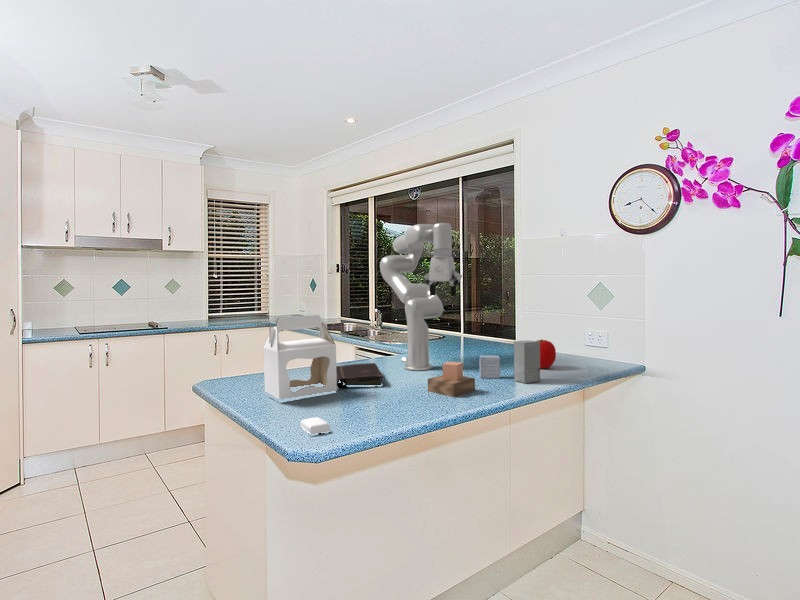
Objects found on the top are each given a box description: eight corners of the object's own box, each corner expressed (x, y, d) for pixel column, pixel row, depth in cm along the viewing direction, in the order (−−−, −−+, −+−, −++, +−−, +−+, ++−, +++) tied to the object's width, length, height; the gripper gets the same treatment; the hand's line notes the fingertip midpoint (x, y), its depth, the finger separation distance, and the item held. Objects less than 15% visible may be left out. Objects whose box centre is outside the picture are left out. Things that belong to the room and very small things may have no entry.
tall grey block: (525, 384, 183) (525, 342, 182) (512, 380, 189) (512, 340, 188) (541, 381, 187) (541, 341, 186) (528, 378, 193) (528, 338, 192)
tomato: (559, 370, 207) (559, 340, 206) (533, 370, 207) (533, 341, 206) (551, 365, 218) (551, 337, 218) (527, 365, 218) (527, 337, 218)
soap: (297, 429, 134) (297, 418, 134) (320, 424, 138) (320, 414, 138) (308, 438, 127) (308, 427, 126) (332, 433, 130) (332, 423, 130)
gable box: (320, 386, 183) (319, 313, 182) (337, 393, 173) (336, 315, 171) (264, 396, 170) (261, 317, 169) (278, 404, 159) (276, 319, 158)
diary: (336, 391, 179) (336, 378, 178) (333, 377, 203) (332, 365, 203) (386, 387, 182) (385, 374, 182) (377, 374, 206) (376, 362, 206)
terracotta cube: (442, 379, 172) (442, 364, 172) (448, 376, 177) (448, 361, 177) (457, 380, 169) (456, 365, 169) (462, 377, 174) (462, 362, 174)
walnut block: (427, 392, 174) (427, 378, 173) (449, 386, 182) (449, 373, 182) (453, 398, 165) (453, 383, 165) (475, 392, 173) (474, 378, 173)
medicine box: (498, 376, 197) (498, 355, 197) (500, 378, 193) (500, 357, 192) (479, 376, 198) (479, 355, 197) (480, 378, 193) (480, 357, 193)
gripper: (419, 254, 198) (420, 295, 199) (456, 252, 188) (456, 296, 189) (429, 254, 204) (430, 294, 205) (465, 253, 194) (465, 295, 195)
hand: (442, 295), depth 197 cm, fingers open, 9 cm apart
